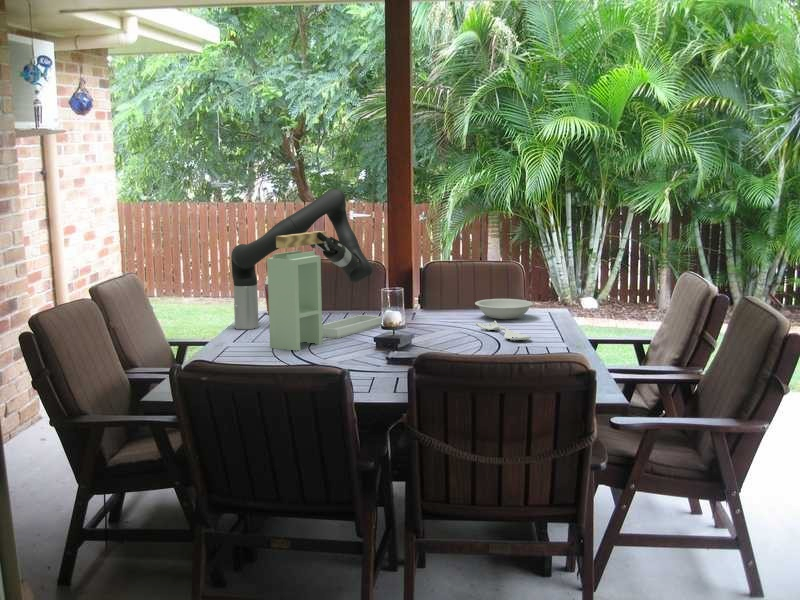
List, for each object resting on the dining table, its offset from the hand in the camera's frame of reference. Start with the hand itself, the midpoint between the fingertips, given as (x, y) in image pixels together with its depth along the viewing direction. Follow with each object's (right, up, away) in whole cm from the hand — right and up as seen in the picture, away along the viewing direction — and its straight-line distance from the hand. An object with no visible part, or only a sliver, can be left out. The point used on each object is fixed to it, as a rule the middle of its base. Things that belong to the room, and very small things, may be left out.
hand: (313, 234), depth 328 cm
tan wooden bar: (-3, -4, -5) cm, 7 cm away
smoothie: (-23, -30, +65) cm, 75 cm away
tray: (+12, -36, +24) cm, 45 cm away
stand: (-6, -40, -3) cm, 41 cm away
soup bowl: (+75, -32, +47) cm, 94 cm away
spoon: (+71, -38, +12) cm, 81 cm away
